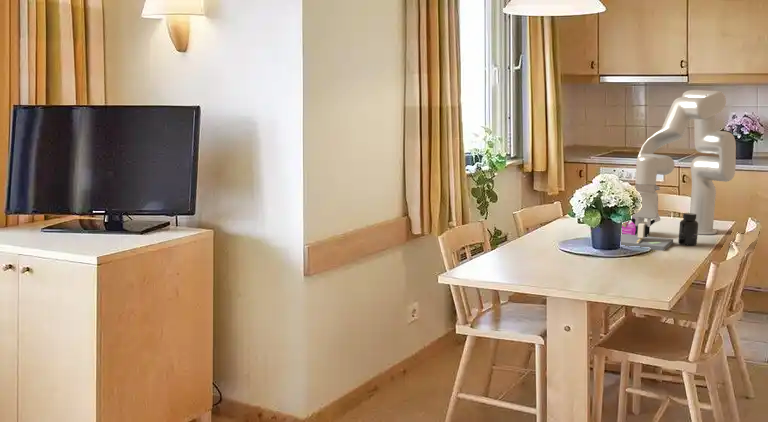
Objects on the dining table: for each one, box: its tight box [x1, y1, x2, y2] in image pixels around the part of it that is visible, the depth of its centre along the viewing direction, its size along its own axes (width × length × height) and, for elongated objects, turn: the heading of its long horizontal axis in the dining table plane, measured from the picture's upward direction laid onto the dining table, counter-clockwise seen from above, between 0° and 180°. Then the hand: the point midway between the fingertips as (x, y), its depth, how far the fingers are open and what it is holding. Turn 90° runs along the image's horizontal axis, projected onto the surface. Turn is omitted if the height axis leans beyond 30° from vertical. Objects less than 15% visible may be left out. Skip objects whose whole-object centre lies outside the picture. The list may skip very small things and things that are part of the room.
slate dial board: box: [621, 234, 674, 251], centre depth 344 cm, size 18×20×2 cm
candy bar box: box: [622, 217, 645, 235], centre depth 362 cm, size 11×5×16 cm, turn 34°
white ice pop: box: [637, 220, 647, 242], centre depth 341 cm, size 12×2×6 cm, turn 153°
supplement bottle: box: [678, 212, 699, 247], centre depth 344 cm, size 7×7×12 cm
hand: (642, 235), depth 343 cm, fingers closed on white ice pop, 2 cm apart
